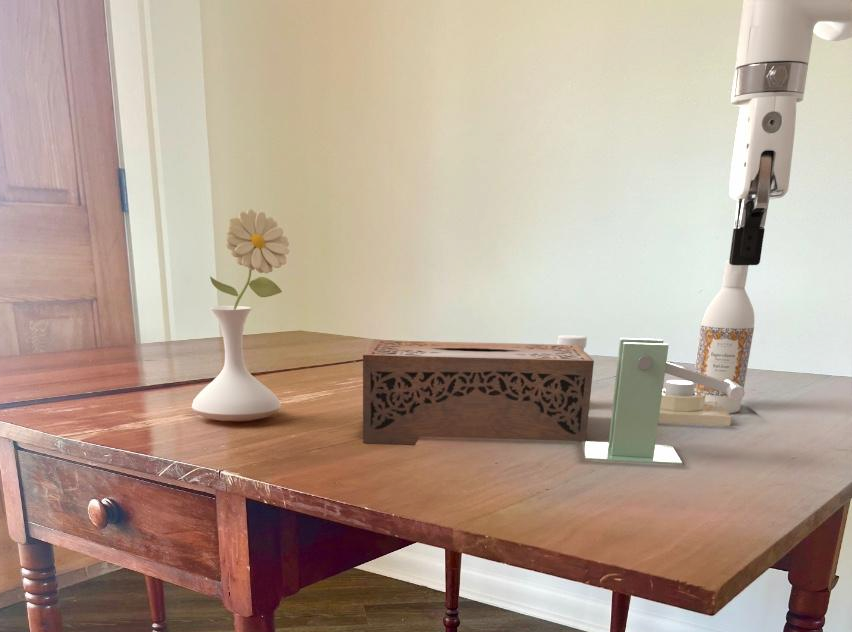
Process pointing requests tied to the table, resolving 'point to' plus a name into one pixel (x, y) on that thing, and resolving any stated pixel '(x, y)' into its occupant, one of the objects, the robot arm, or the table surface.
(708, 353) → the bath foam
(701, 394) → the cream pedestal base
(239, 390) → the flower in vase
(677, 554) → the table surface
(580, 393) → the tissue box cover
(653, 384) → the lever bracket
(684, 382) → the flush button
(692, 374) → the flush lever
